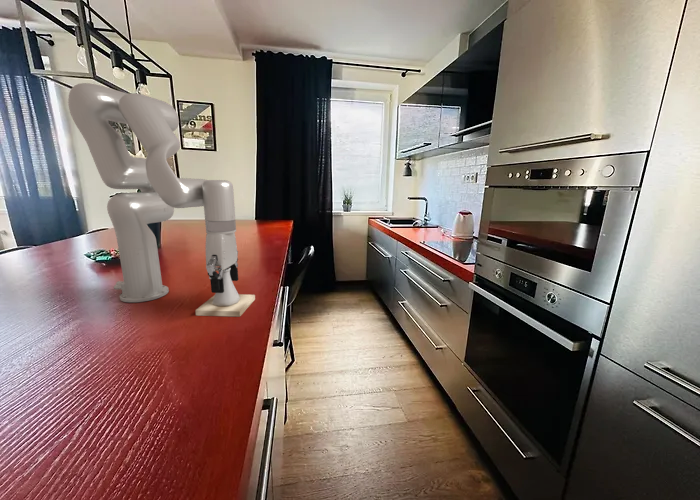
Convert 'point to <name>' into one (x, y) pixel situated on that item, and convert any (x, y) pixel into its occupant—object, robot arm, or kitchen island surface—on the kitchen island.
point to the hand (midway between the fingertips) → (225, 286)
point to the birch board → (225, 307)
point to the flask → (227, 291)
